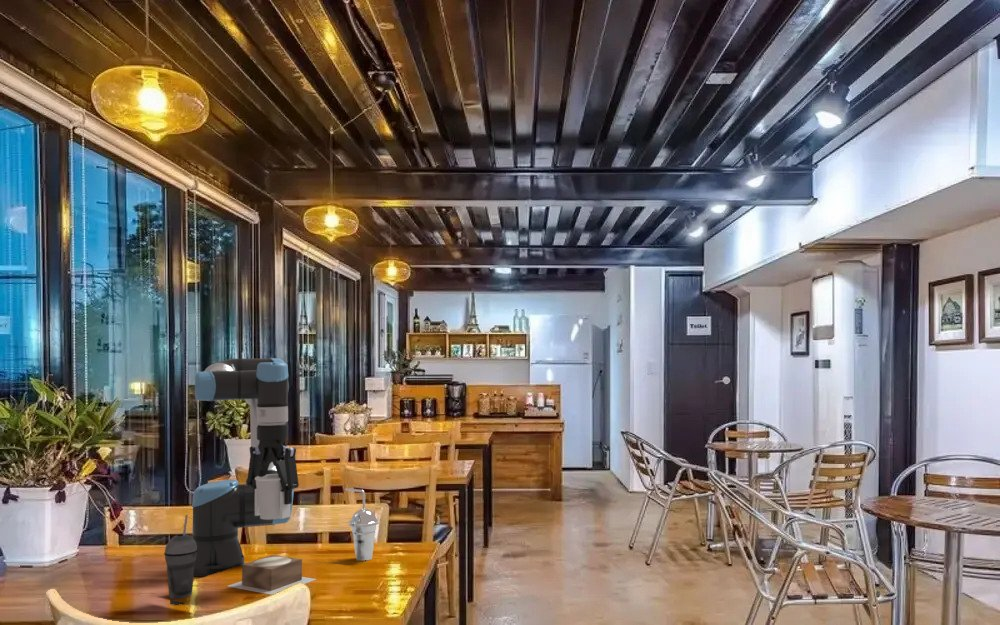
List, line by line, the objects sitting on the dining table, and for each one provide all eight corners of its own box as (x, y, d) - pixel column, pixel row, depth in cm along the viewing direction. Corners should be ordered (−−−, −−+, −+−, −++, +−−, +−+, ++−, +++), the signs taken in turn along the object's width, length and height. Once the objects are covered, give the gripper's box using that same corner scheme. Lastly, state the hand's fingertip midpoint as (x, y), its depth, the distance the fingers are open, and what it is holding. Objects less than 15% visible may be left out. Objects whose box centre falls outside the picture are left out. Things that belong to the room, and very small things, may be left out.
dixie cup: (283, 520, 180) (283, 478, 180) (249, 521, 180) (249, 479, 180) (293, 513, 188) (293, 473, 189) (261, 514, 188) (261, 474, 189)
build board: (226, 592, 181) (226, 586, 181) (270, 577, 193) (270, 571, 193) (274, 601, 173) (274, 595, 173) (316, 585, 185) (316, 579, 185)
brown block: (242, 585, 181) (242, 564, 181) (273, 574, 190) (273, 554, 190) (271, 590, 176) (271, 569, 176) (301, 579, 185) (301, 558, 185)
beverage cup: (170, 597, 177) (171, 512, 179) (201, 596, 178) (202, 511, 179) (158, 607, 170) (159, 519, 171) (191, 606, 171) (192, 518, 172)
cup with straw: (370, 563, 204) (369, 490, 206) (341, 561, 207) (340, 489, 208) (384, 555, 212) (383, 485, 214) (356, 553, 215) (356, 484, 216)
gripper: (231, 424, 187) (231, 515, 186) (291, 426, 177) (292, 522, 176) (254, 421, 194) (254, 510, 192) (314, 423, 184) (314, 516, 182)
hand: (272, 516), depth 184 cm, fingers closed on dixie cup, 8 cm apart
